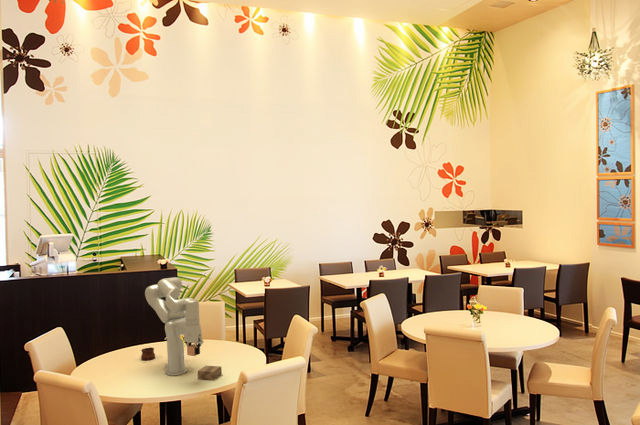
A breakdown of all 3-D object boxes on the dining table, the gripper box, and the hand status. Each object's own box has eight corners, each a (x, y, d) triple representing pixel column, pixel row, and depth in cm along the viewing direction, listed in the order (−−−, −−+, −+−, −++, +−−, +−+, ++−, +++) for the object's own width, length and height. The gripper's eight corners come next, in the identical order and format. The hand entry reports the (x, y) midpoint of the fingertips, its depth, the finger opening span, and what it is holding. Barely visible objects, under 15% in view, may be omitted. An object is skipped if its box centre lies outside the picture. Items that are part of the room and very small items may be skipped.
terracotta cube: (187, 355, 295) (186, 346, 295) (193, 352, 299) (193, 344, 299) (193, 356, 293) (193, 347, 292) (200, 353, 297) (199, 345, 297)
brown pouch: (152, 363, 330) (151, 352, 331) (127, 362, 335) (127, 351, 335) (167, 356, 348) (167, 345, 348) (144, 355, 353) (144, 344, 353)
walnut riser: (197, 379, 298) (197, 370, 298) (206, 373, 308) (205, 365, 308) (213, 380, 296) (213, 372, 296) (221, 375, 305) (221, 366, 305)
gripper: (176, 321, 297) (178, 353, 297) (198, 324, 288) (200, 357, 288) (186, 319, 303) (187, 350, 304) (208, 321, 294) (209, 353, 295)
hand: (193, 353), depth 296 cm, fingers closed on terracotta cube, 5 cm apart
